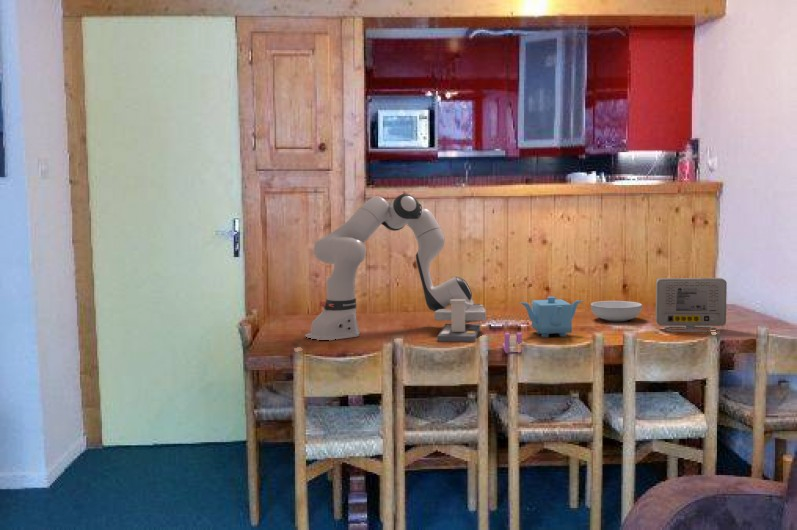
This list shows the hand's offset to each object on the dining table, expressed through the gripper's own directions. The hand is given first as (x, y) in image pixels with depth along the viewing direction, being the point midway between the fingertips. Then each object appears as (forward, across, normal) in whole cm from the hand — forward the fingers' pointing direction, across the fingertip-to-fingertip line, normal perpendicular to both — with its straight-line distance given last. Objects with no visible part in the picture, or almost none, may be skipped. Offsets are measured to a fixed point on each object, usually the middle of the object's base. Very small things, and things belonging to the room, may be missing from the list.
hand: (458, 318), depth 318 cm
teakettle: (-5, +36, +7) cm, 37 cm away
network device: (-18, +89, +7) cm, 91 cm away
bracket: (+22, +21, +8) cm, 32 cm away
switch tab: (+1, 0, +5) cm, 5 cm away
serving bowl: (-40, +62, +7) cm, 74 cm away
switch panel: (-4, 0, +7) cm, 8 cm away
